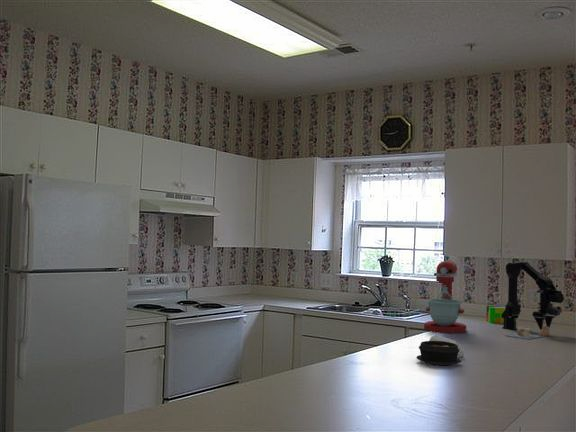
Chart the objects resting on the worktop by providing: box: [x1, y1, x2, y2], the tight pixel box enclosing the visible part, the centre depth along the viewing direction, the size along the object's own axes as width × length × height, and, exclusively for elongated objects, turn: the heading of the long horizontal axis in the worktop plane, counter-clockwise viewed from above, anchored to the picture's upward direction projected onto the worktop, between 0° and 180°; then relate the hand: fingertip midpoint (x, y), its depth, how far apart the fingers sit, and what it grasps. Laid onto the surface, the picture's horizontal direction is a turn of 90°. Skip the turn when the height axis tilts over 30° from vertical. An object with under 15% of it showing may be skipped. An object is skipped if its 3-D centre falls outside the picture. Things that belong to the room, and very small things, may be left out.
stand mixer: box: [423, 260, 467, 334], centre depth 360 cm, size 24×32×40 cm
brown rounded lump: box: [539, 325, 550, 337], centre depth 350 cm, size 5×5×5 cm
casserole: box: [415, 340, 462, 367], centre depth 260 cm, size 25×19×8 cm
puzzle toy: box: [485, 305, 506, 325], centre depth 401 cm, size 10×10×10 cm
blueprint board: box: [504, 332, 544, 340], centre depth 343 cm, size 14×16×1 cm
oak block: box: [516, 327, 531, 337], centre depth 343 cm, size 5×5×4 cm
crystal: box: [428, 334, 465, 357], centre depth 286 cm, size 7×7×24 cm
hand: (544, 328), depth 350 cm, fingers open, 9 cm apart
